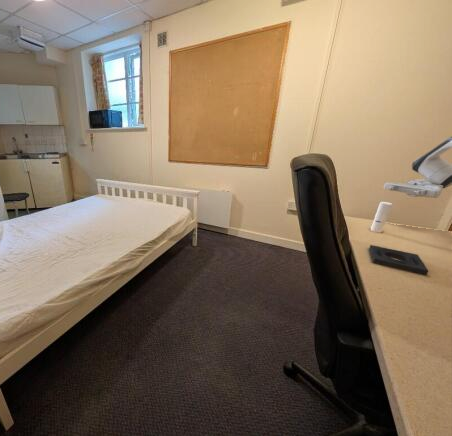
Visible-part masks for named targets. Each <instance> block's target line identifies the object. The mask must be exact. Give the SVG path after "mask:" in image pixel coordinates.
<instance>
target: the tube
mask: <svg viewBox="0 0 452 436" xmlns="http://www.w3.org/2000/svg"><path fill="white" fill-rule="evenodd" d="M392 206H393V203H392V202H388V201H380V202H379V204H378V207H377V210H376V213H375V216H374V218H373V221H372V224H371V227H370V231H371V232H374V233H382V232H383V229H384V227H385V224H386V222H387V219H388V216H389V213H390V212H391V208H392Z"/></svg>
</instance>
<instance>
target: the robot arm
mask: <svg viewBox="0 0 452 436" xmlns="http://www.w3.org/2000/svg"><path fill="white" fill-rule="evenodd" d="M450 149H452V136H450V137H449V138H447V139H445V140H444V141H443V142H441V143H439V144H438V145H436V146H435V147H434V148H432V149H431V150H430V151H428V152H426V153H425V154H423V155H421V156H420V157H417V158H416V159H415V160H414V161H412V163H411V170H412V171H414V172H416V173H417V174H420V175H422V176H423V177H424V178H420V179H413V180H410V181H408V182H406V183H402V182H396V181H395V182H393V181H391V182H385V183H384V184H383V188H382V189H383V190H384V191H385V190H386V191H391V192H397V193H404V194H406V195H407V196H409V197H413V198H414V197H415V198H417V197H418V198H432V199H438V198H439V197H440V195H441V194H442V191H443V190H444V189H447V188H448V187H450V186H452V163H450V162H448V161H446V160H445V159H443V158H442V157H441V155H443V154H444V153H446V152H448V151H449V150H450Z"/></svg>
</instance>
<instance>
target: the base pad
mask: <svg viewBox="0 0 452 436" xmlns="http://www.w3.org/2000/svg"><path fill="white" fill-rule="evenodd" d="M368 250H369V254H370V257H371V261H372V264H375V265H376V264H377V265H380V266H384V267H388V268H393V269H397V270H401V271H405V272H409V273H414V274H416V275H417V274H418V275H421V276H427V275H428V273H429V269H428V267H427V266H426V265H425V264H424V262H423V260H422V259H421V257H420V256H419V254H418V253H417V254H416V253H412V252H407V251H402V250H397V249H393V248H387V247H383V246H378V245H373V244H370V245H369V248H368Z"/></svg>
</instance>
